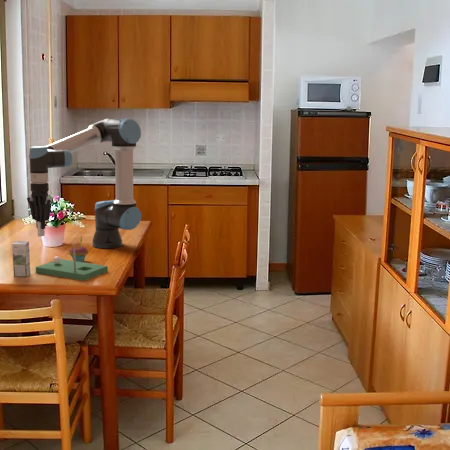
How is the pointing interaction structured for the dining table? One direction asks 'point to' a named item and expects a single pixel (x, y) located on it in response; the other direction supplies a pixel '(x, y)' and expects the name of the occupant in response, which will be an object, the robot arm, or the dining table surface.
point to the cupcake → (79, 253)
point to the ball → (56, 260)
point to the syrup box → (21, 258)
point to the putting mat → (72, 268)
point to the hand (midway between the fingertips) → (41, 235)
